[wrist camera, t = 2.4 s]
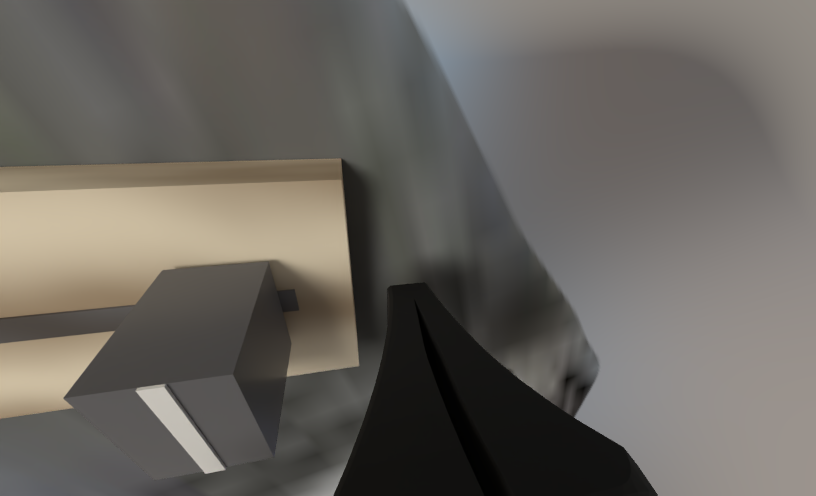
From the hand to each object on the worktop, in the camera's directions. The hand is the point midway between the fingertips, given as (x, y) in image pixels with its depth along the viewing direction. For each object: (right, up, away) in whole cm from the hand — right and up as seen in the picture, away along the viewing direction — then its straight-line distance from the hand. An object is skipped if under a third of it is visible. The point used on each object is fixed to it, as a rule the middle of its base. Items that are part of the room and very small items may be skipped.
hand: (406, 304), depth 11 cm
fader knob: (-6, 0, -1) cm, 6 cm away
